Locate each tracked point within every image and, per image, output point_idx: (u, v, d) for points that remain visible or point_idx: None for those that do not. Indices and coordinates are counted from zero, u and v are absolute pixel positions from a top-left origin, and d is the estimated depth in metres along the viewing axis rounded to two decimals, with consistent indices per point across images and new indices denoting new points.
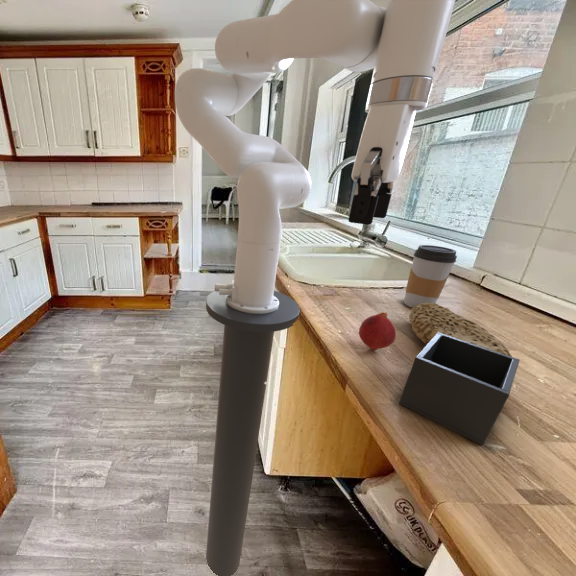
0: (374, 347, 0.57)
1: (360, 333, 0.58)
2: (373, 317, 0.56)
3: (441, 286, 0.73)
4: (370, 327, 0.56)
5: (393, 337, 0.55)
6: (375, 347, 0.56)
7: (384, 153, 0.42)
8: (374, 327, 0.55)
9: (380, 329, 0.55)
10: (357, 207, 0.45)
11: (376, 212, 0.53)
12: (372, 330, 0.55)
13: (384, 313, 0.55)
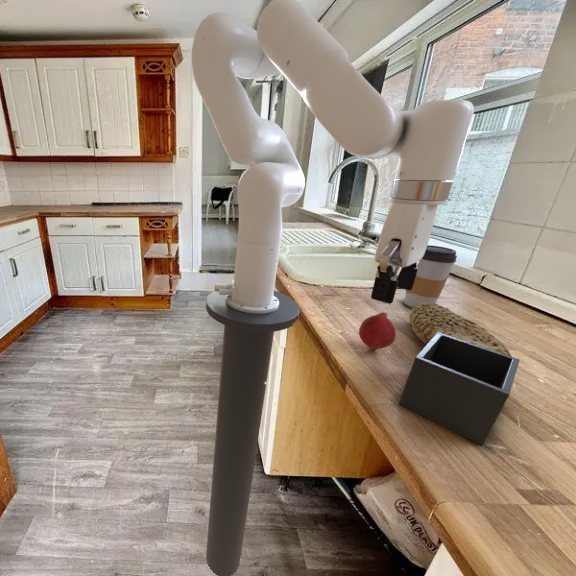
0: (374, 347, 0.57)
1: (360, 333, 0.58)
2: (373, 317, 0.56)
3: (441, 286, 0.73)
4: (370, 327, 0.56)
5: (393, 337, 0.55)
6: (375, 347, 0.56)
7: (403, 244, 0.47)
8: (374, 327, 0.55)
9: (380, 329, 0.55)
10: (378, 288, 0.50)
11: (403, 284, 0.56)
12: (372, 330, 0.55)
13: (384, 313, 0.55)
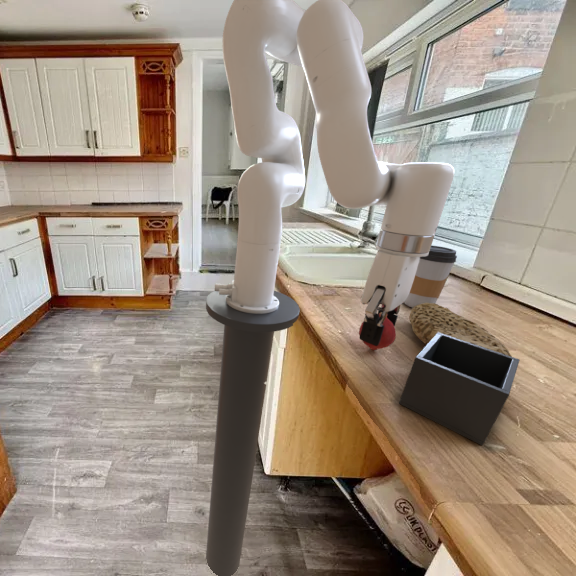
0: (374, 347, 0.57)
1: (360, 333, 0.58)
2: None
3: (441, 286, 0.73)
4: None
5: (393, 337, 0.55)
6: (375, 347, 0.56)
7: (387, 292, 0.50)
8: None
9: None
10: (366, 331, 0.54)
11: None
12: None
13: None
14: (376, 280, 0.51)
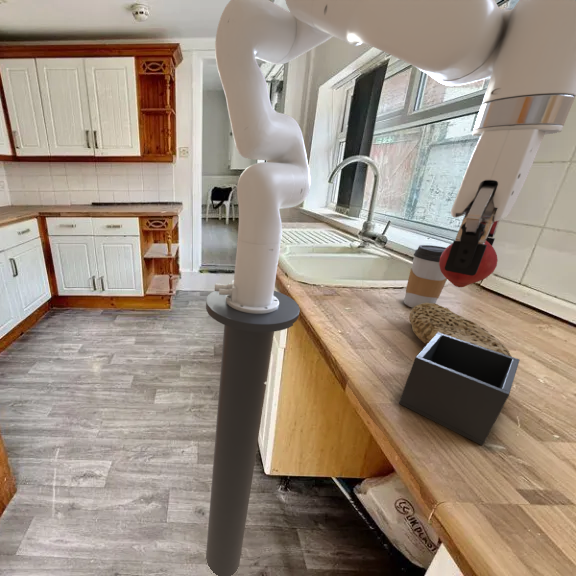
0: (465, 281, 0.41)
1: (443, 264, 0.42)
2: None
3: (441, 286, 0.73)
4: None
5: (495, 264, 0.39)
6: (467, 281, 0.41)
7: (500, 188, 0.34)
8: None
9: None
10: (458, 255, 0.39)
11: None
12: None
13: None
14: (481, 173, 0.35)
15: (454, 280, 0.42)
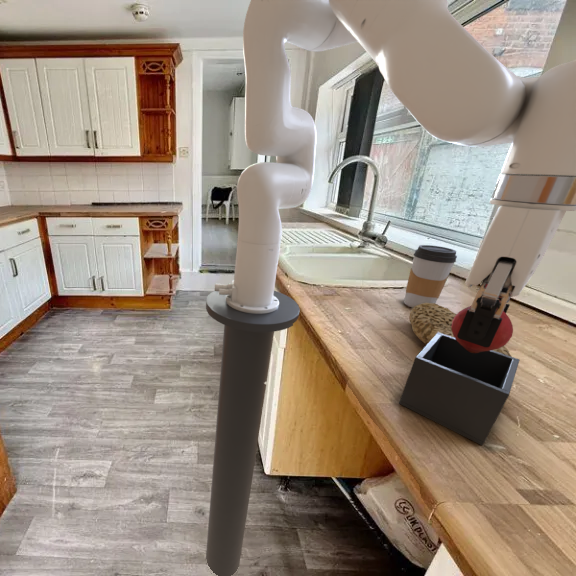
0: (478, 349, 0.40)
1: (456, 329, 0.41)
2: None
3: (441, 286, 0.73)
4: None
5: (511, 335, 0.38)
6: (480, 349, 0.40)
7: (519, 266, 0.33)
8: None
9: None
10: (472, 326, 0.38)
11: None
12: None
13: None
14: (499, 249, 0.34)
15: (467, 347, 0.41)
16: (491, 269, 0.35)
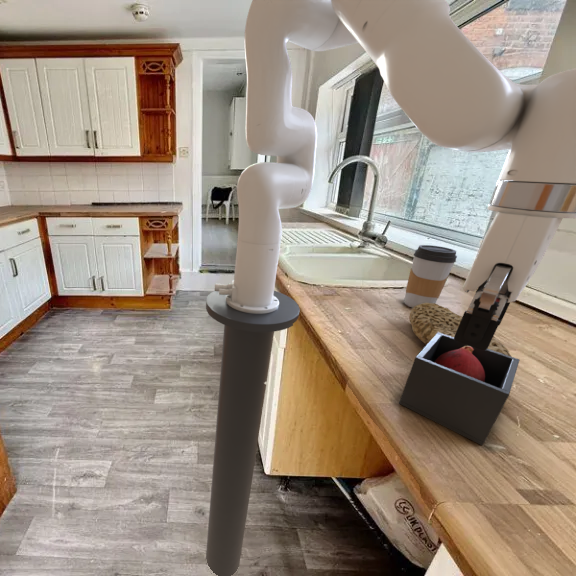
0: None
1: None
2: (455, 351, 0.45)
3: (441, 286, 0.73)
4: (454, 359, 0.44)
5: (484, 378, 0.43)
6: None
7: (515, 273, 0.33)
8: (461, 360, 0.43)
9: (469, 363, 0.43)
10: (469, 328, 0.37)
11: None
12: (458, 362, 0.43)
13: (469, 347, 0.45)
14: (496, 255, 0.34)
15: None
16: (488, 275, 0.35)
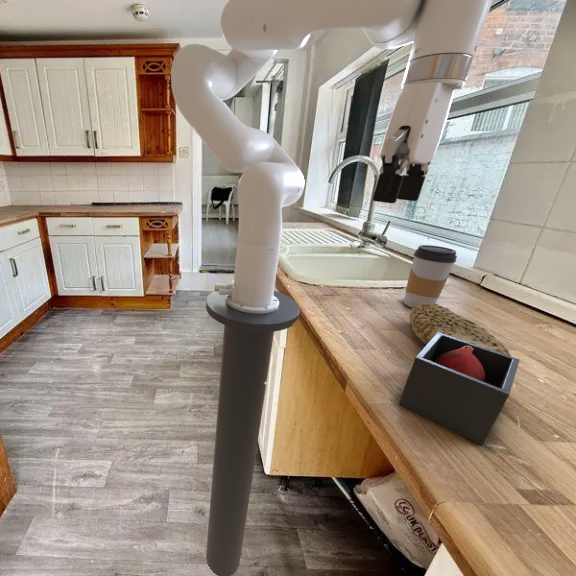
0: None
1: None
2: (455, 351, 0.45)
3: (441, 286, 0.73)
4: (454, 359, 0.44)
5: (484, 378, 0.43)
6: None
7: (412, 131, 0.43)
8: (461, 360, 0.43)
9: (469, 363, 0.43)
10: (381, 185, 0.46)
11: (408, 195, 0.52)
12: (458, 362, 0.43)
13: (469, 347, 0.45)
14: (400, 120, 0.44)
15: None
16: None
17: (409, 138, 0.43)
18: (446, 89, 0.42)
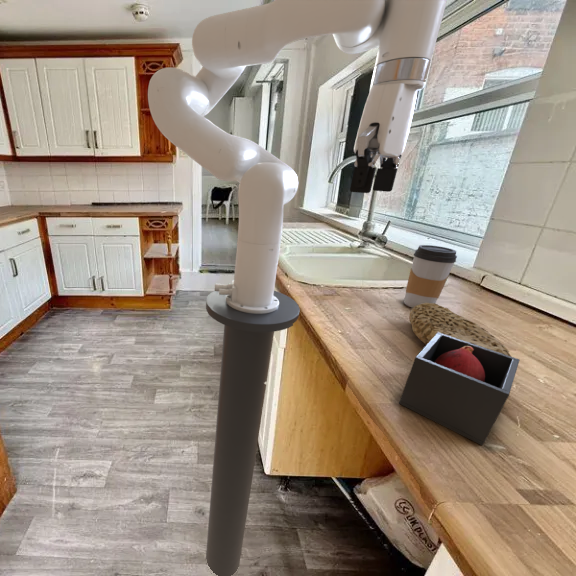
0: None
1: None
2: (455, 351, 0.45)
3: (441, 286, 0.73)
4: (454, 359, 0.44)
5: (484, 378, 0.43)
6: None
7: (381, 127, 0.48)
8: (461, 360, 0.43)
9: (469, 363, 0.43)
10: (357, 177, 0.51)
11: (383, 186, 0.57)
12: (458, 362, 0.43)
13: (469, 347, 0.45)
14: (369, 118, 0.48)
15: None
16: None
17: (378, 133, 0.48)
18: (409, 89, 0.47)
